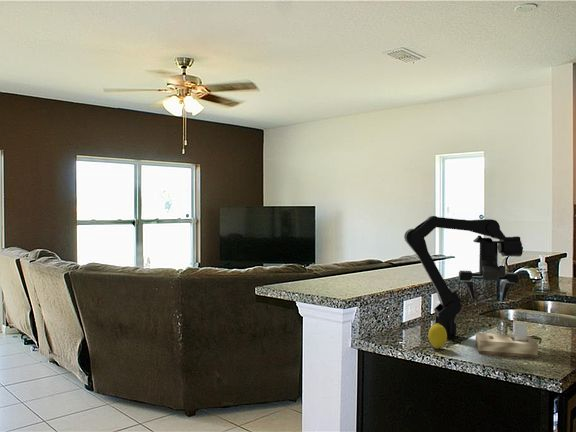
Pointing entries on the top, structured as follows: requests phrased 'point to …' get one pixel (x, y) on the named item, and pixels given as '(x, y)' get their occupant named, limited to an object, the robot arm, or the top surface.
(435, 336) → the lemon
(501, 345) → the socket block
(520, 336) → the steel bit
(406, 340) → the top surface
